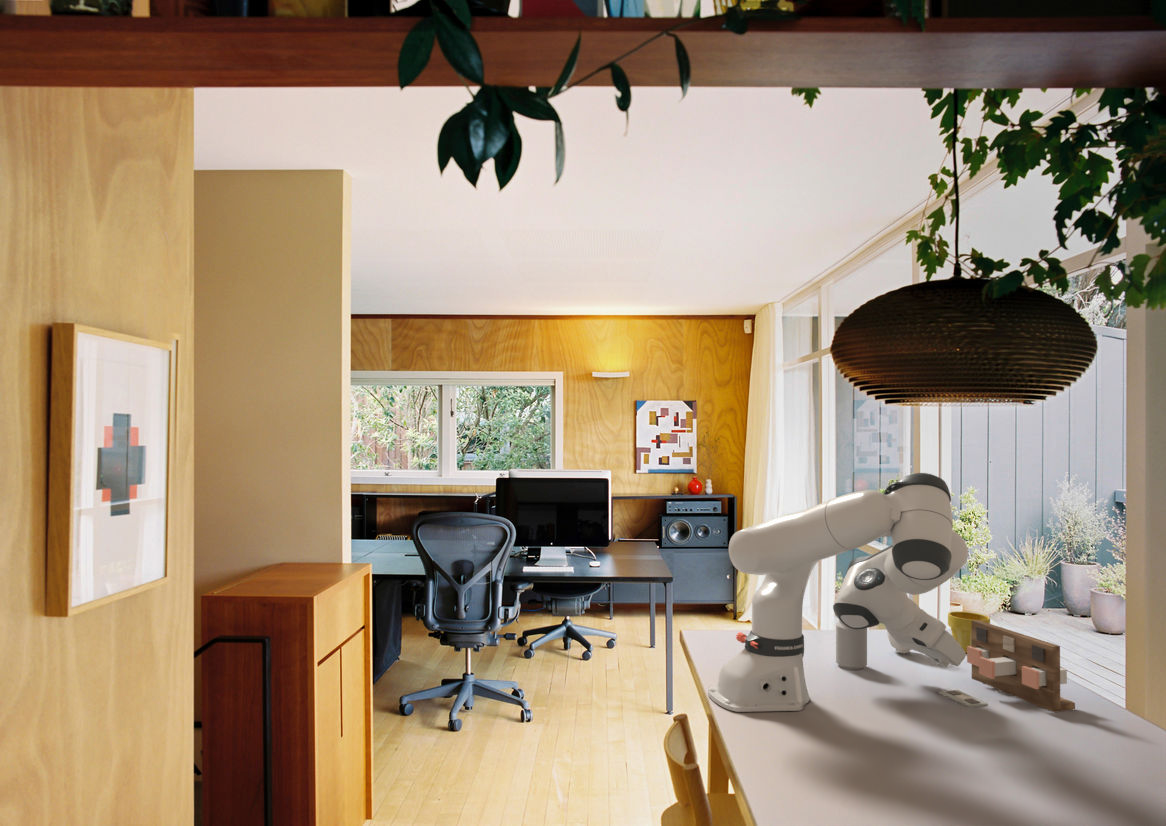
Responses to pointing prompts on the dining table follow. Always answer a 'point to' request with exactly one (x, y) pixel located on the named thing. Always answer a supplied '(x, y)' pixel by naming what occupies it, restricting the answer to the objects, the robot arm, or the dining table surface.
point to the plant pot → (964, 626)
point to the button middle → (997, 666)
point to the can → (851, 647)
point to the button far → (976, 654)
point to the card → (963, 698)
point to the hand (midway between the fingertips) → (943, 663)
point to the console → (1027, 655)
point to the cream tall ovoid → (897, 645)
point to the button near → (1039, 677)
